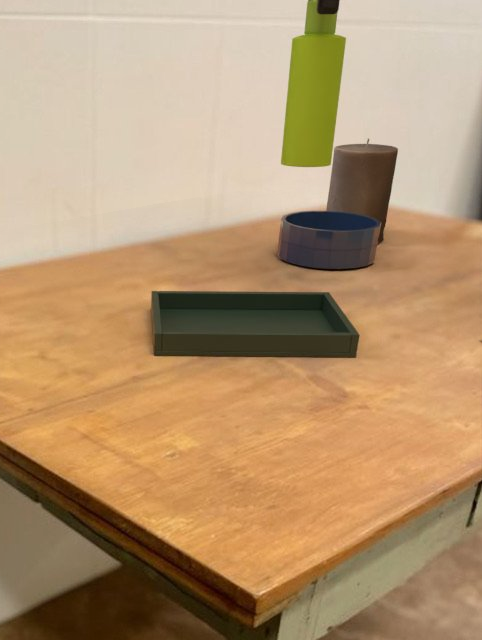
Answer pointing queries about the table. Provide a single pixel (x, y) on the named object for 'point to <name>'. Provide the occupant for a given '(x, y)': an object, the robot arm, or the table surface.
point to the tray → (250, 324)
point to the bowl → (328, 239)
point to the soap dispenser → (313, 91)
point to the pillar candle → (362, 180)
